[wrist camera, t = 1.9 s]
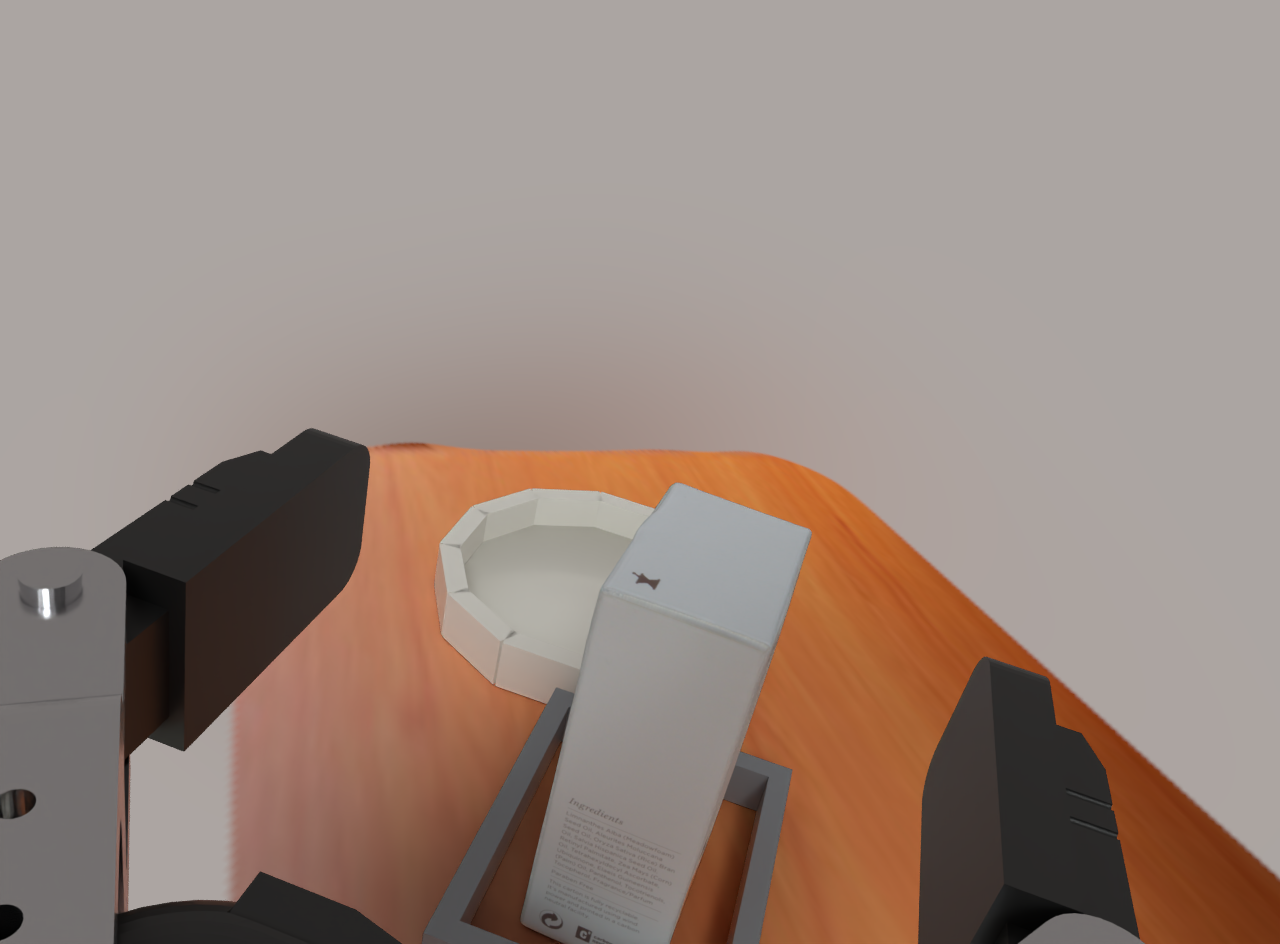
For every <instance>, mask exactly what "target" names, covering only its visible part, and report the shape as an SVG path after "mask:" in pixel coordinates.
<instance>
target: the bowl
mask: <svg viewBox="0 0 1280 944" xmlns="http://www.w3.org/2000/svg"><path fill="white" fill-rule="evenodd" d="M654 510H655V509H654V508H651V507H648V506H644V505H641V504H638V503H635V502H632V501H629V500H626V499H623V498H620V497H616V496H613V495H610V494H607V493H604V492H601V494H600V492H599V491H580V490H556V489H532V490H531V489H527V490H524V491H520V492H517V493H514V494H510V495H507V496H504V497H500V498H497V499H494V500H490V501H487V502H484V503H480V504H477V505H473V507H471V508H470V509H469V510H468V511H467V512H466V513H465V514H464V516H463V517H462V518H461V519H460V520H459V521H458V522H457V524H456V525H455V526H454V527H453V528H452V529H451V530H450V532H449V533H448V534H447V535H446V536H445V537H444V538H443V540H442V541H441V542H440V544H439V551H438V559H437V566H436V574H435V581H434V588H435V595H436V602H437V609H438V616H439V623H440V630H441V635H442V637H443V638H444V639H445V640H447V641H448V642H449V643H450V644H451V645H452V646H453V647H454V648H455V649H456V650H457V651H458V652H459V653H460V654H461V655H462V656H463V657H464V658H465V659H466V660H468V661H469V662H470V663H471V664H472V665H473V666H474V667H475V668H476V669H477V670H478V671H479V672H480V673H481V674H482V675H483V676H484V677H485V678H486V679H487V680H488V681H490V682H491V683H492V684H495V683H496V684H495V686H497V687H500V688H502V689H505V690H508V691H511V692H514V693H517V694H519V695H522V696H525V697H528V698H531V699H534V700H536V701H539V702H542V703H545V704H547V703H548V701H549V699H550V698H551V696H552V694H553V692H554V690H555V688H556V687H557V688H560V689H563V690H566V691H569V692H572V693H574V694H575V689H576V685H577V681H578V677H579V673H580V668H581V663H582V658H583V654H584V649H585V645H586V640H587V637H588V633H589V629H590V625H591V621H592V617H593V614H594V610H595V606H596V602H597V599H598V595H599V591H600V589H601V587H602V585H603V584H604V582H605V581H606V579H607V578H608V576H609V575H610V573H611V572H612V570H613V569H614V567H615V565H616V564H617V562H618V561H619V559H620V558H621V556H622V555H623V553H624V552H625V551H626V549H627V547H628V546H629V544H630V543H631V541H632V539H633V537H634V535H635V533H636V531H637V530H638V528H639V527H640V526H641V524H642V523H643V522H644V521H645V520H646V519H647V518H648V517H649V516H650V515H651V514H652V512H653V511H654Z"/></svg>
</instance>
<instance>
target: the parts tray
mask: <svg viewBox="0 0 1280 944" xmlns="http://www.w3.org/2000/svg"><path fill="white" fill-rule="evenodd" d="M573 698H574V693H572V692H569V691H566V690H563V689H560V688H557V687H556V688H555V690H554V692H553V694H552V696H551V698H550V699H549V701H548V703H547V705H546V707H545V709H544V710H543V712H542V714H541V716H540V718H539V720H538V722H537V723H536V725H535V727H534V729H533V731H532V733H531V735H530V736H529V738H528V740H527V742H526V744H525V746H524V747H523V749H522V751H521V753H520V755H519V757H518V759H517V760H516V762H515V764H514V766H513V768H512V770H511V772H510V773H509V775H508V777H507V779H506V781H505V783H504V784H503V786H502V788H501V790H500V792H499V794H498V796H497V797H496V799H495V801H494V803H493V805H492V807H491V809H490V810H489V812H488V814H487V816H486V818H485V820H484V822H483V823H482V825H481V827H480V829H479V831H478V833H477V834H476V836H475V838H474V840H473V842H472V844H471V846H470V847H469V849H468V851H467V853H466V855H465V857H464V859H463V860H462V862H461V864H460V866H459V868H458V870H457V871H456V873H455V875H454V877H453V879H452V881H451V883H450V884H449V886H448V888H447V890H446V892H445V894H444V896H443V897H442V899H441V901H440V903H439V905H438V907H437V908H436V910H435V912H434V914H433V916H432V918H431V920H430V921H429V923H428V925H427V927H426V929H425V931H424V933H423V938H422V944H519V943H516V942H514V941H511V940H508V939H506V938H503V937H501V936H498V935H496V934H493V933H490V932H488V931H485V930H483V929H480V928H477V927H475V926H472V925H470V923H471V921H472V919H473V917H474V915H475V913H476V911H477V909H478V907H479V905H480V903H481V901H482V899H483V897H484V895H485V893H486V891H487V889H488V887H489V885H490V883H491V881H492V879H493V877H494V875H495V873H496V871H497V869H498V867H499V865H500V863H501V861H502V859H503V857H504V855H505V853H506V851H507V849H508V847H509V845H510V843H511V841H512V839H513V837H514V835H515V833H516V831H517V829H518V827H519V825H520V822H521V820H522V818H523V816H524V814H525V812H526V810H527V808H528V806H529V804H530V802H531V800H532V798H533V796H534V794H535V792H536V790H537V788H538V786H539V784H540V782H541V780H542V778H543V776H544V774H545V772H546V770H547V768H548V766H549V764H550V762H551V760H552V758H553V756H554V754H555V752H556V750H557V748H558V746H559V744H560V742H561V741H562V742H563V739H564V734H565V730H566V726H567V722H568V718H569V713H570V709H571V706H572V702H573ZM791 774H792V769H789V768H786V767H783V766H780V765H778V764H775V763H772V762H769V761H766V760H763V759H760V758H757V757H755V756H752V755H749V754H746V753H743V752H740V753H739V755H738V758H737V761H736V764H735V767H734V770H733V773H732V776H731V778H730V781H729V784H728V787H727V790H726V792H725V795H724V798H723V799H724V800H727V801H730V802H732V803H735V804H738V805H741V806H744V807H746V808H749V809H752V810H755V811H756V815H755V820H754V824H753V829H752V833H751V837H750V842H749V846H748V851H747V855H746V860H745V864H744V869H743V873H742V877H741V882H740V886H739V891H738V895H737V900H736V904H735V909H734V913H733V917H732V922H731V926H730V931H729V935H728V940H727V944H759V941H760V936H761V931H762V925H763V920H764V915H765V910H766V905H767V899H768V894H769V889H770V884H771V879H772V873H773V868H774V863H775V858H776V852H777V847H778V842H779V837H780V832H781V826H782V821H783V816H784V811H785V806H786V800H787V795H788V790H789V785H790V780H791Z"/></svg>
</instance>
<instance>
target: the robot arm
mask: <svg viewBox="0 0 1280 944" xmlns="http://www.w3.org/2000/svg"><path fill="white" fill-rule="evenodd" d="M369 468H370V455H369V451H368V449H367V447H366V446H364V445H361V444H358V443H355V442H352V441H349V440H346V439H343V438H340V437H337V436H334V435H331V434H328V433H325V432H322V431H319V430H316V429H313V428H312V429H307V430H305V431H303V432H302V433H301V434H299V435H298V436H296V437H295V438H294V439H292V440H291V441H289V442H288V443H287V444H285V445H284V446H282V447H281V448H279V449H278V450H277V451H275V452H274V453H272V454H269V453H266V452H263V451H258V452H254V453H251V454H247V455H244V456H241V457H237V458H234V459H230V460H227V461H224V462H221V463H220V464H218V465H217V466H215V467H214V468H212V469H211V470H209V471H208V472H207V473H205V474H203V475H202V476H200V477H199V478H197V479H196V480H194V483H193V485H192V486H191V485H187V486H185V487H184V488H182V489H181V490H180V491H178V492H177V493H175V494H174V495H172V496H171V499H170V501H166V500H165V501H163V502H162V503H160V504H159V505H157V506H156V507H154V508H153V509H151V510H150V511H148V512H147V513H145V514H144V515H142V516H141V517H140V518H138V519H136V520H135V521H134V522H132V523H131V524H129V525H127V526H126V527H125V528H123V529H122V530H120V531H119V532H117V533H116V534H114V535H113V536H111V537H110V538H108V539H107V540H105V541H104V542H102V543H101V544H99V545H98V546H97V547H95V548H93V549H92V550H85V549H80V548H70V547H50V548H40V549H34V550H29V551H25V552H21V553H17V554H14V555H12V556H9V557H7V558H4V559H2V560H0V944H402V943H400V942H399V941H398V940H396V939H395V938H394V937H392V936H391V935H389V934H388V933H387V932H385V931H384V930H383V929H381V928H380V927H379V926H377V925H376V924H375V923H373V922H372V921H371V920H369V919H368V918H367V917H365V916H364V915H362V914H361V913H360V912H358V911H357V910H355V909H353V908H350V907H348V906H345V905H343V904H340V903H338V902H335V901H333V900H330V899H328V898H325V897H323V896H320V895H318V894H315V893H313V892H310V891H308V890H305V889H303V888H300V887H298V886H295V885H293V884H290V883H288V882H285V881H283V880H280V879H278V878H275V877H273V876H270V875H268V874H265V873H263V872H259V874H258V875H257V876H256V878H255V879H254V880H253V882H252V883H251V884H250V885H249V887H248V888H247V889H246V891H245V892H244V893H243V895H242V896H241V897H240V899H239V900H238V901H237V902H232V901H216V900H192V901H180V902H169V903H163V904H158V905H152V906H146V907H141V908H137V909H134V910H130V911H128V881H129V822H130V754H131V753H132V752H133V751H134V750H135V749H136V748H137V747H138V746H139V745H141V743H143V742H144V741H145V740H146V739H147V738H150V739H153V740H155V741H158V742H160V743H163V744H166V745H168V746H171V747H174V748H176V749H179V750H181V751H185V750H186V749H187V748H188V747H189V746H190V745H191V744H192V743H193V742H194V741H195V740H196V739H197V738H198V737H199V736H200V735H201V734H202V733H203V732H204V731H205V730H206V729H207V727H209V726H210V725H211V724H212V722H214V720H215V719H216V718H217V717H218V716H219V715H220V714H221V713H222V712H223V711H224V710H225V709H226V708H227V707H228V706H229V705H230V704H231V703H232V702H233V701H234V700H235V699H236V698H237V697H238V696H239V695H240V694H241V693H242V692H243V691H244V690H245V689H246V688H247V687H248V686H249V685H250V684H251V683H252V682H253V681H254V680H255V679H256V678H257V677H258V676H259V675H260V674H261V673H262V672H263V671H264V670H265V668H266V667H267V666H268V665H269V664H270V663H271V662H272V661H273V660H274V659H275V658H276V657H277V656H278V655H279V654H280V653H281V652H282V651H283V650H284V649H285V648H286V647H287V646H288V645H289V644H290V643H291V642H292V641H293V640H294V639H295V638H296V637H297V636H298V635H299V634H300V633H301V632H302V631H303V630H304V629H305V628H306V627H307V626H308V625H309V624H310V623H311V622H312V621H313V620H314V619H315V618H316V616H317V615H318V614H319V613H320V612H321V611H322V610H323V609H324V608H325V607H326V606H327V605H328V604H329V603H330V602H331V601H332V600H333V599H334V598H335V597H336V596H337V595H338V594H339V593H340V592H341V591H342V590H343V588H344V587H345V585H346V584H347V582H348V581H349V579H350V577H351V575H352V573H353V571H354V569H355V566H356V563H357V561H358V557H359V554H360V549H361V542H362V533H363V524H364V515H365V505H366V496H367V487H368V478H369ZM1111 807H1112V799H1111V794H1110V789H1109V784H1108V779H1107V774H1106V770H1105V768H1104V767H1103V765H1102V764H1101V762H1100V761H1099V759H1098V758H1097V756H1096V754H1095V753H1094V751H1093V750H1092V748H1091V747H1090V745H1089V744H1088V742H1087V741H1086V739H1085V738H1084V736H1083V735H1082V733H1079V732H1076V731H1073V730H1070V729H1067V728H1064V727H1061V726H1059V725H1056V720H1055V713H1054V706H1053V700H1052V693H1051V686H1050V682H1049V680H1048V678H1047V677H1045V676H1042V675H1039V674H1036V673H1033V672H1030V671H1027V670H1024V669H1021V668H1018V667H1015V666H1012V665H1009V664H1006V663H1003V662H1000V661H997V660H994V659H991V658H989V657H983V658H982V659H981V660H980V661H979V663H978V664H977V666H976V667H975V669H974V671H973V673H972V675H971V677H970V679H969V681H968V683H967V685H966V688H965V690H964V692H963V694H962V696H961V698H960V700H959V702H958V704H957V706H956V708H955V710H954V713H953V715H952V717H951V719H950V721H949V723H948V725H947V727H946V729H945V731H944V733H943V735H942V737H941V740H940V742H939V744H938V746H937V748H936V750H935V752H934V755H933V758H932V760H931V763H930V766H929V769H928V773H927V777H926V781H925V785H924V791H923V798H922V825H921V861H920V897H919V934H918V944H1145V943H1143V942H1142V941H1141V940H1140V938H1139V933H1138V928H1137V923H1136V918H1135V913H1134V908H1133V903H1132V898H1131V893H1130V888H1129V883H1128V878H1127V873H1126V868H1125V864H1124V859H1123V854H1122V849H1121V844H1120V840H1118V839H1117V835H1118V829H1117V824H1116V819H1115V814H1114V811H1112V810H1111Z"/></svg>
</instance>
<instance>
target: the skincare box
mask: <svg viewBox="0 0 1280 944" xmlns="http://www.w3.org/2000/svg"><path fill="white" fill-rule="evenodd" d="M811 535H812V532H811V530H810V529H808V528H804V527H801V526H798V525H796V524H793V523H790V522H788V521H785V520H782V519H779V518H776V517H773V516H770V515H767V514H764V513H762V512H759V511H756V510H753V509H750V508H748V507H745V506H742V505H739V504H737V503H734V502H731V501H728V500H725V499H722V498H720V497H717V496H714V495H711V494H709V493H706V492H703V491H701V490H698V489H695V488H693V487H690V486H687V485H685V484H682V483H674V484H673V485H671V486H670V488H669V489H668V491H667V492H666V494H665V495H664V497H663V498H662V499H661V501H660V502H659V504H658V505H657V507H656V508H655V510H654V511H653V512H652V514H651V515H650V516H649V517H648V518H647V519H646V520H645V521H644V522H643V523H642V524H641V526H640V527H639V528H638V530H637V531H636V533H635V535H634V537H633V539H632V541H631V543H630V544H629V546H628V547H627V549H626V551H625V552H624V553H623V555H622V556H621V558H620V559H619V561H618V562H617V564H616V565H615V567H614V569H613V570H612V572H611V573H610V575H609V576H608V578H607V579H606V581H605V582H604V584H603V585H602V587H601V589H600V591H599V595H598V599H597V602H596V606H595V610H594V614H593V617H592V621H591V625H590V629H589V633H588V637H587V640H586V645H585V649H584V654H583V658H582V663H581V668H580V673H579V677H578V681H577V685H576V689H575V694H574V698H573V702H572V706H571V709H570V713H569V718H568V722H567V726H566V730H565V734H564V739H563V743H562V748H561V752H560V756H559V760H558V764H557V768H556V773H555V777H554V781H553V785H552V789H551V793H550V797H549V802H548V806H547V810H546V814H545V818H544V822H543V825H542V829H541V834H540V838H539V842H538V846H537V850H536V854H535V858H534V863H533V867H532V871H531V876H530V879H529V884H528V889H527V893H526V897H525V901H524V905H523V909H522V913H521V918H520V921H521V923H522V924H523V925H524V926H526V927H528V928H530V929H532V930H534V931H536V932H539V933H541V934H543V935H545V936H547V937H550V938H552V939H554V940H556V941H559V942H561V943H563V944H670V941H671V938H672V936H673V933H674V931H675V928H676V925H677V923H678V920H679V917H680V915H681V912H682V909H683V907H684V904H685V901H686V899H687V896H688V893H689V891H690V888H691V885H692V882H693V880H694V877H695V874H696V872H697V869H698V866H699V864H700V861H701V858H702V855H703V853H704V850H705V847H706V845H707V842H708V839H709V837H710V834H711V831H712V829H713V826H714V823H715V820H716V818H717V815H718V812H719V809H720V806H721V804H722V801H723V798H724V795H725V792H726V790H727V787H728V784H729V781H730V778H731V776H732V773H733V770H734V767H735V764H736V761H737V758H738V755H739V753H740V750H741V747H742V744H743V741H744V738H745V735H746V732H747V729H748V726H749V724H750V721H751V718H752V715H753V712H754V709H755V706H756V703H757V700H758V697H759V695H760V692H761V689H762V686H763V683H764V680H765V677H766V674H767V671H768V668H769V665H770V663H771V660H772V657H773V654H774V651H775V648H776V645H777V641H778V638H779V635H780V632H781V629H782V626H783V623H784V620H785V617H786V614H787V611H788V608H789V605H790V601H791V598H792V595H793V592H794V589H795V586H796V582H797V579H798V576H799V573H800V569H801V566H802V563H803V560H804V557H805V554H806V551H807V548H808V545H809V542H810V539H811Z"/></svg>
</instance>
